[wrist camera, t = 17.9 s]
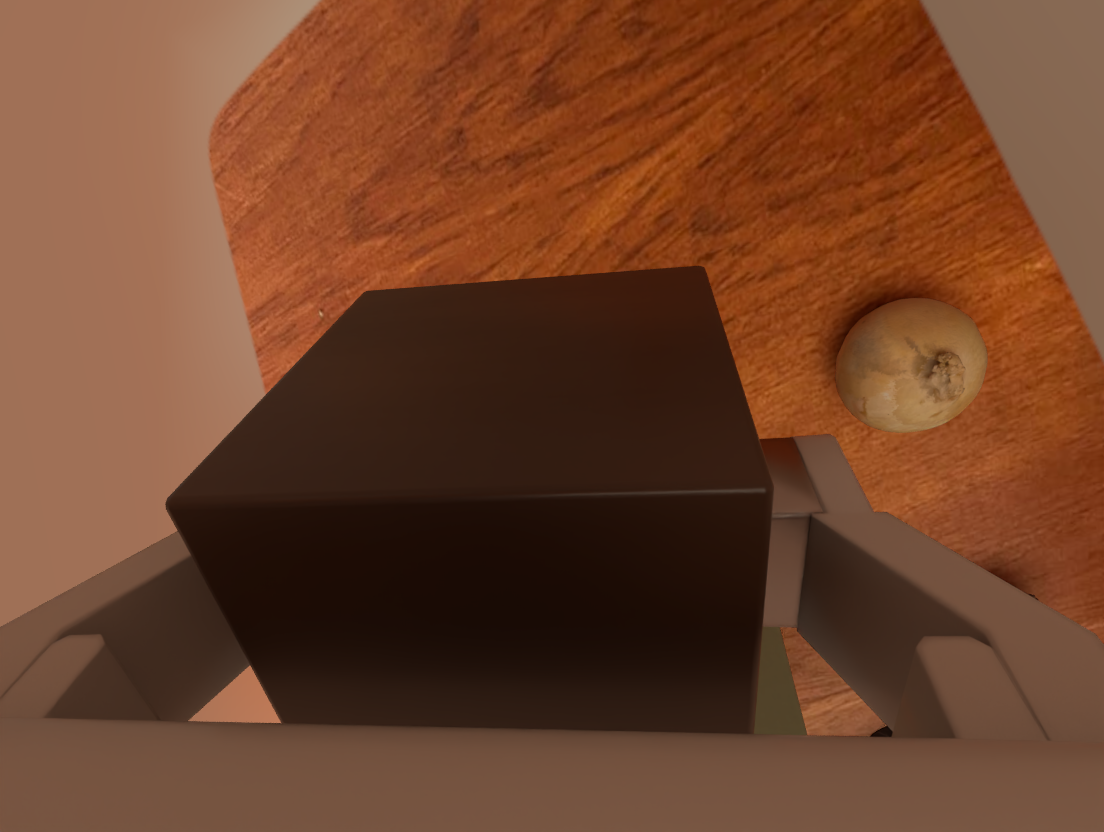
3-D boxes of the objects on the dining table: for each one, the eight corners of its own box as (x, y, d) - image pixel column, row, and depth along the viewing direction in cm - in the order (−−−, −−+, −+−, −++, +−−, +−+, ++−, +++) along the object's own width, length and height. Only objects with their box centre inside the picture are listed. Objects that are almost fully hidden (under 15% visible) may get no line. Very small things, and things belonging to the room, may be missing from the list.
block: (432, 540, 12) (329, 818, 8) (362, 289, 10) (157, 502, 5) (702, 536, 11) (746, 837, 7) (705, 262, 9) (777, 484, 5)
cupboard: (582, 698, 62) (567, 956, 45) (558, 503, 49) (524, 756, 32) (733, 702, 60) (776, 972, 43) (747, 499, 47) (815, 766, 31)
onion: (971, 372, 41) (1032, 433, 35) (843, 418, 43) (879, 483, 37) (943, 261, 37) (1004, 309, 31) (806, 319, 40) (838, 372, 34)
